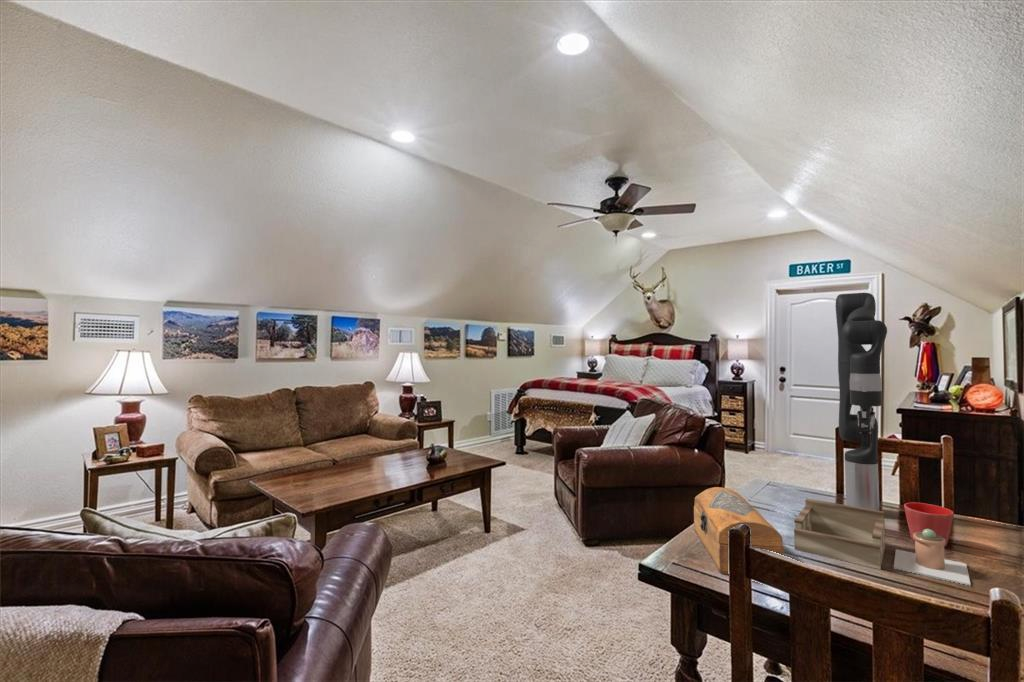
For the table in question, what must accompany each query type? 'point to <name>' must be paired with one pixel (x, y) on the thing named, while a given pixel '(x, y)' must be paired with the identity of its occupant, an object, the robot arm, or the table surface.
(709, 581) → the table surface
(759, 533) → the wooden box
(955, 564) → the grey mat
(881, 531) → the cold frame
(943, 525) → the flower pot
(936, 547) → the seedling pot
